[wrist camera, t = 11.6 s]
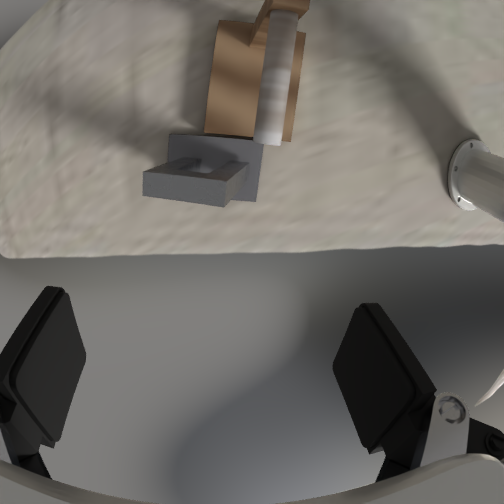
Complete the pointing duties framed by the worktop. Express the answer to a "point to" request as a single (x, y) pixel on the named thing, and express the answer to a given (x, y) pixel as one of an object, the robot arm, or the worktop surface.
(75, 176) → the worktop surface
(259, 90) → the hook stand
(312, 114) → the worktop surface
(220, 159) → the rubber mat
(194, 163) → the grey u-shaped bracket
